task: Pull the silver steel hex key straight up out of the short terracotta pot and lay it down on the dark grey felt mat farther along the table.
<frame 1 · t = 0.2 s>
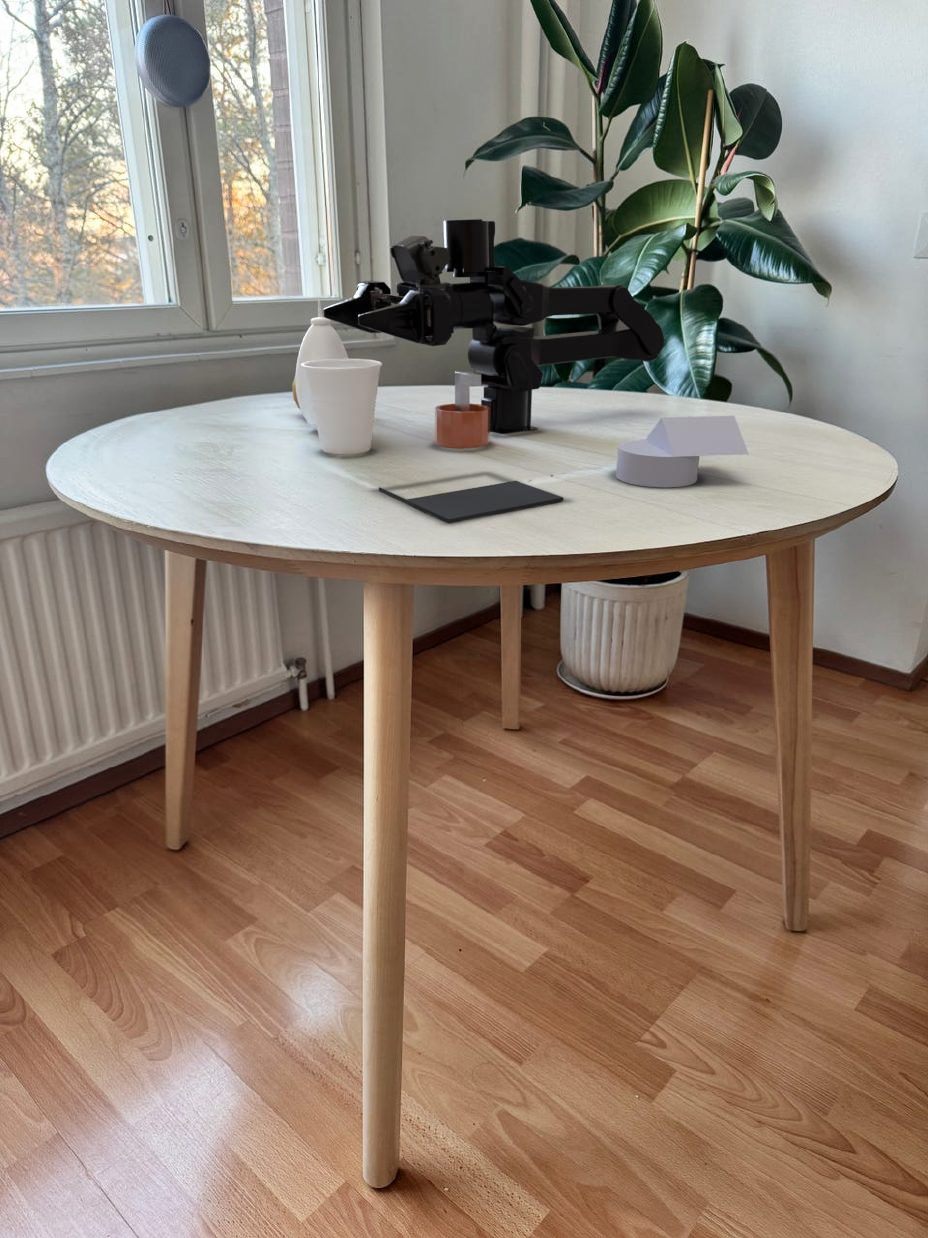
hand: (340, 316, 100), 16 cm above the table, tool horizontal, fingers open, 9 cm apart
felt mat: (469, 495, 87), on the table
hex key: (462, 442, 110), resting on pencil pot
pencil pot: (462, 446, 110), on the table
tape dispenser: (672, 478, 95), on the table
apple: (326, 417, 130), on the table
cup: (346, 453, 106), on the table
sauce bottle: (328, 434, 118), on the table
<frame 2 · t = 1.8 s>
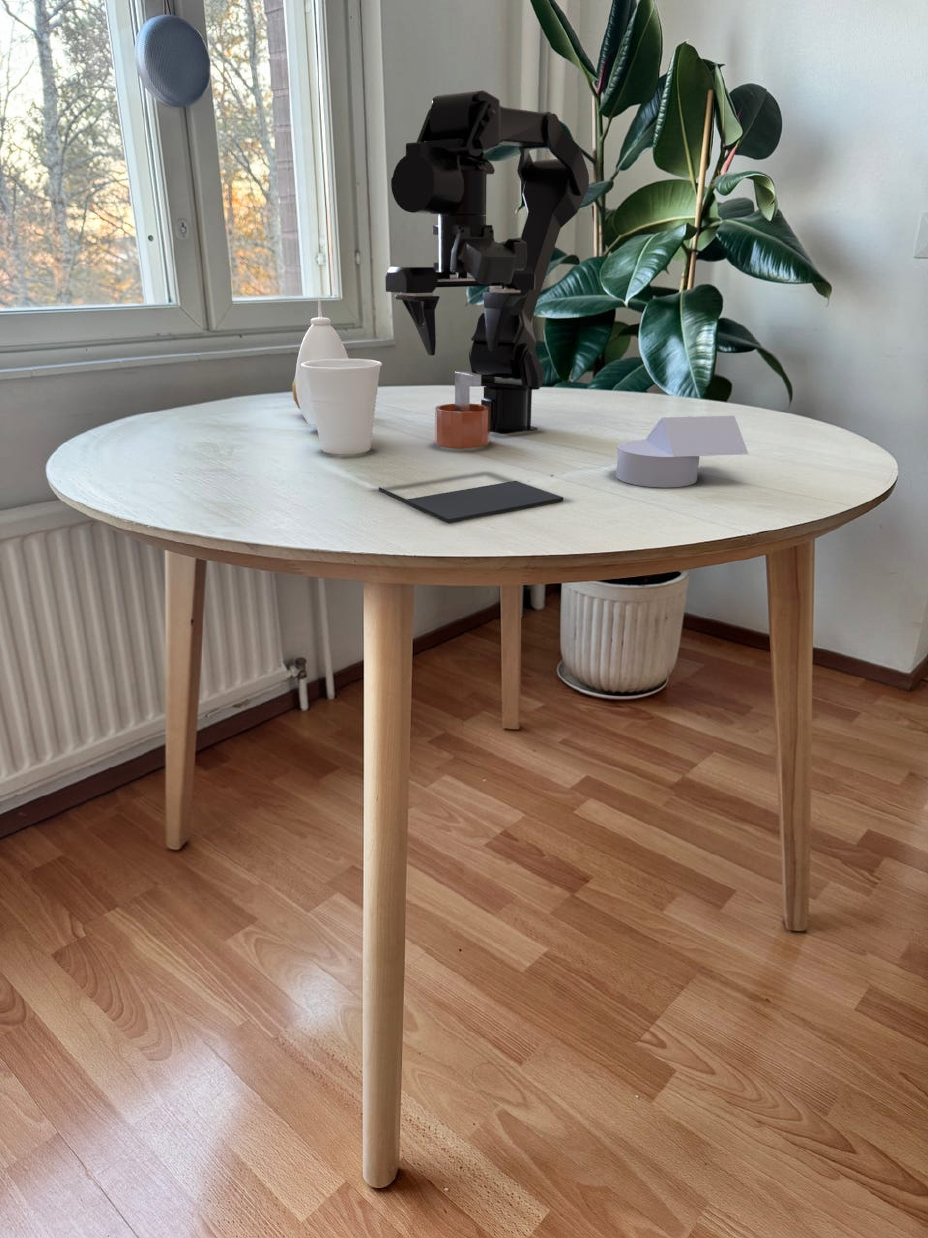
hand: (462, 352, 105), 12 cm above the table, tool pointing down, fingers open, 9 cm apart
nothing on the table moved.
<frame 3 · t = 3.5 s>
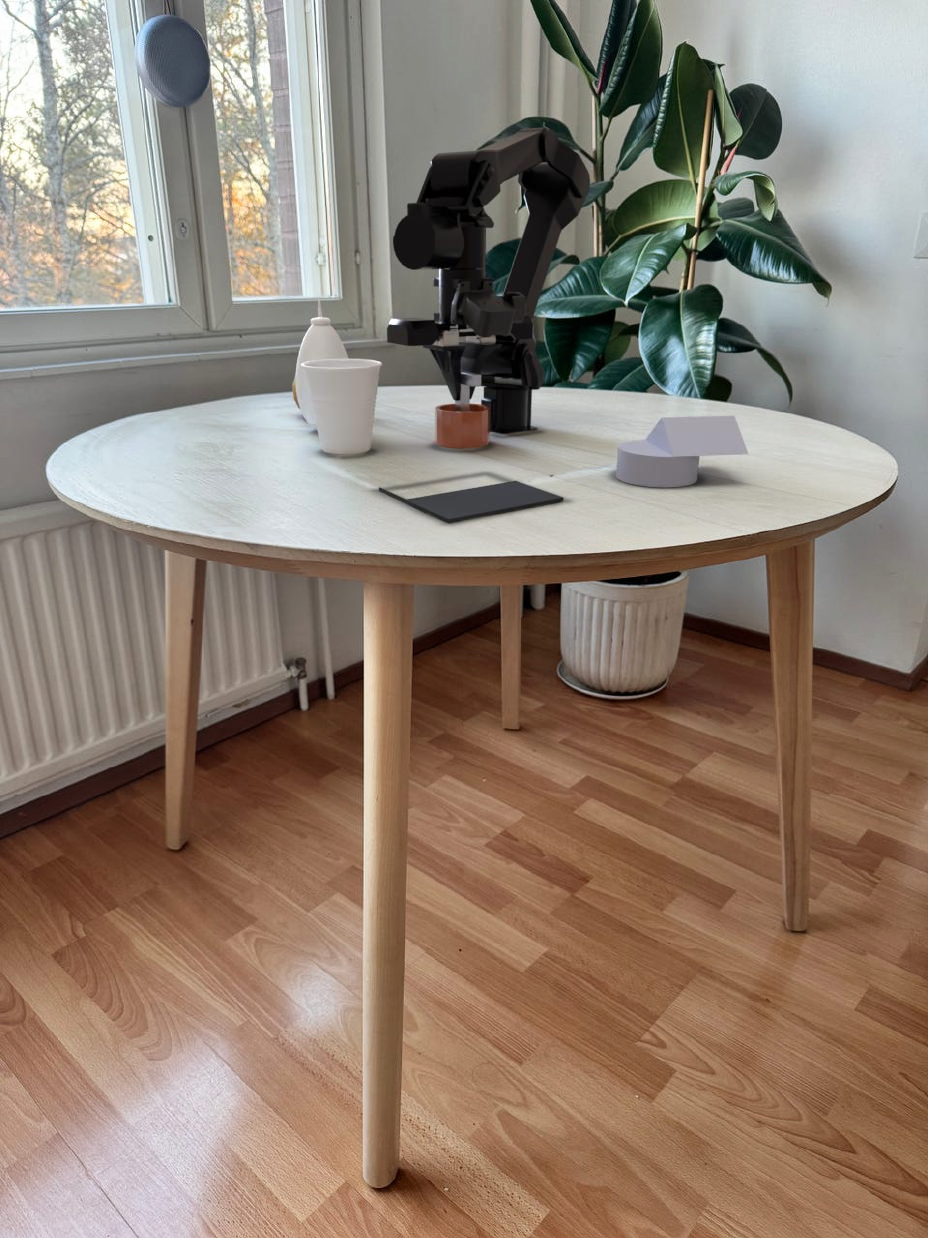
hand: (462, 399, 107), 6 cm above the table, tool pointing down, fingers closed on hex key, 1 cm apart
hex key: (462, 442, 110), point 1 cm above the table, touching gripper, pencil pot
everything else where it was.
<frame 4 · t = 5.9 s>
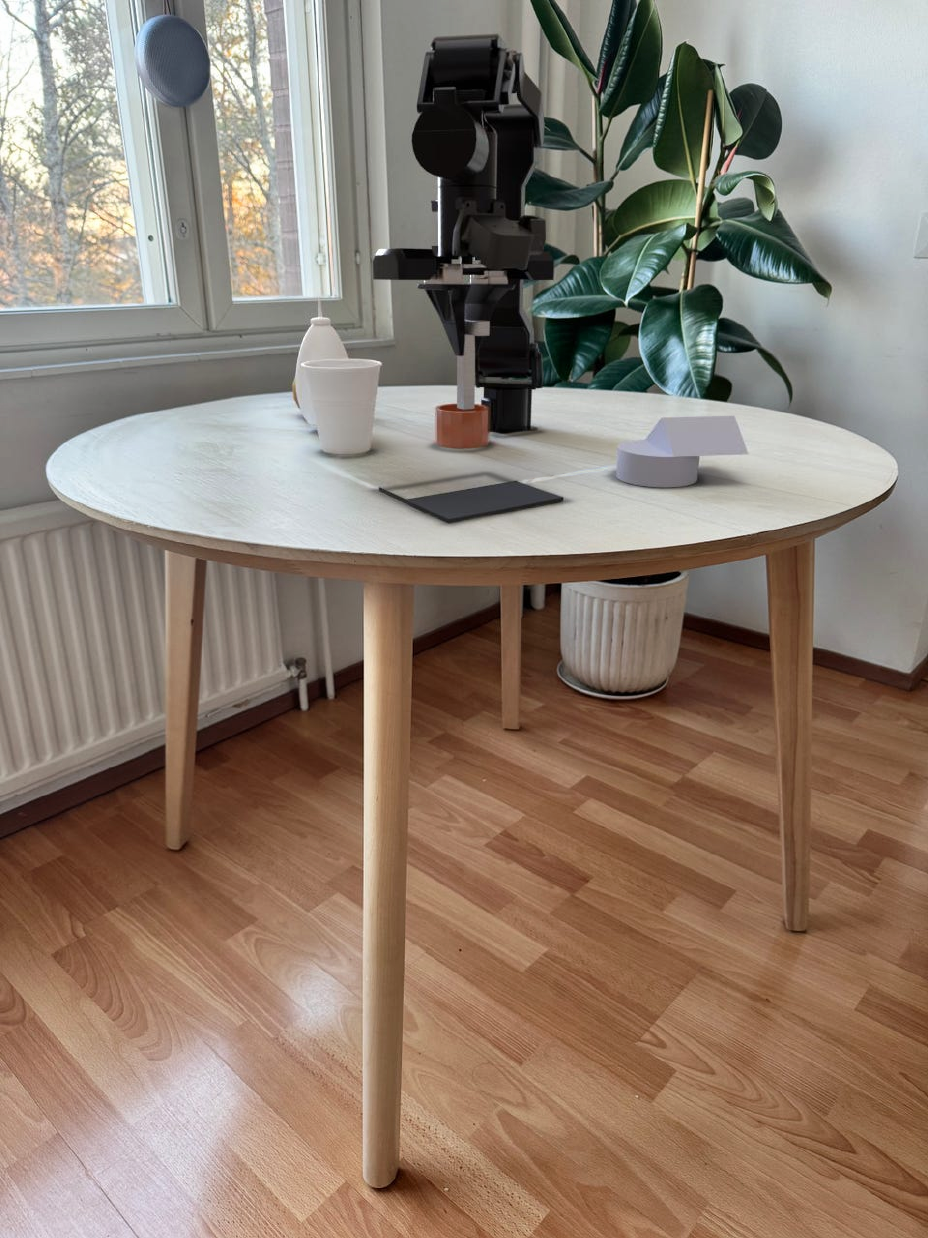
hand: (466, 355, 87), 14 cm above the table, tool pointing down, fingers closed on hex key
hex key: (465, 408, 89), point 8 cm above the table, touching gripper
everything else where it was.
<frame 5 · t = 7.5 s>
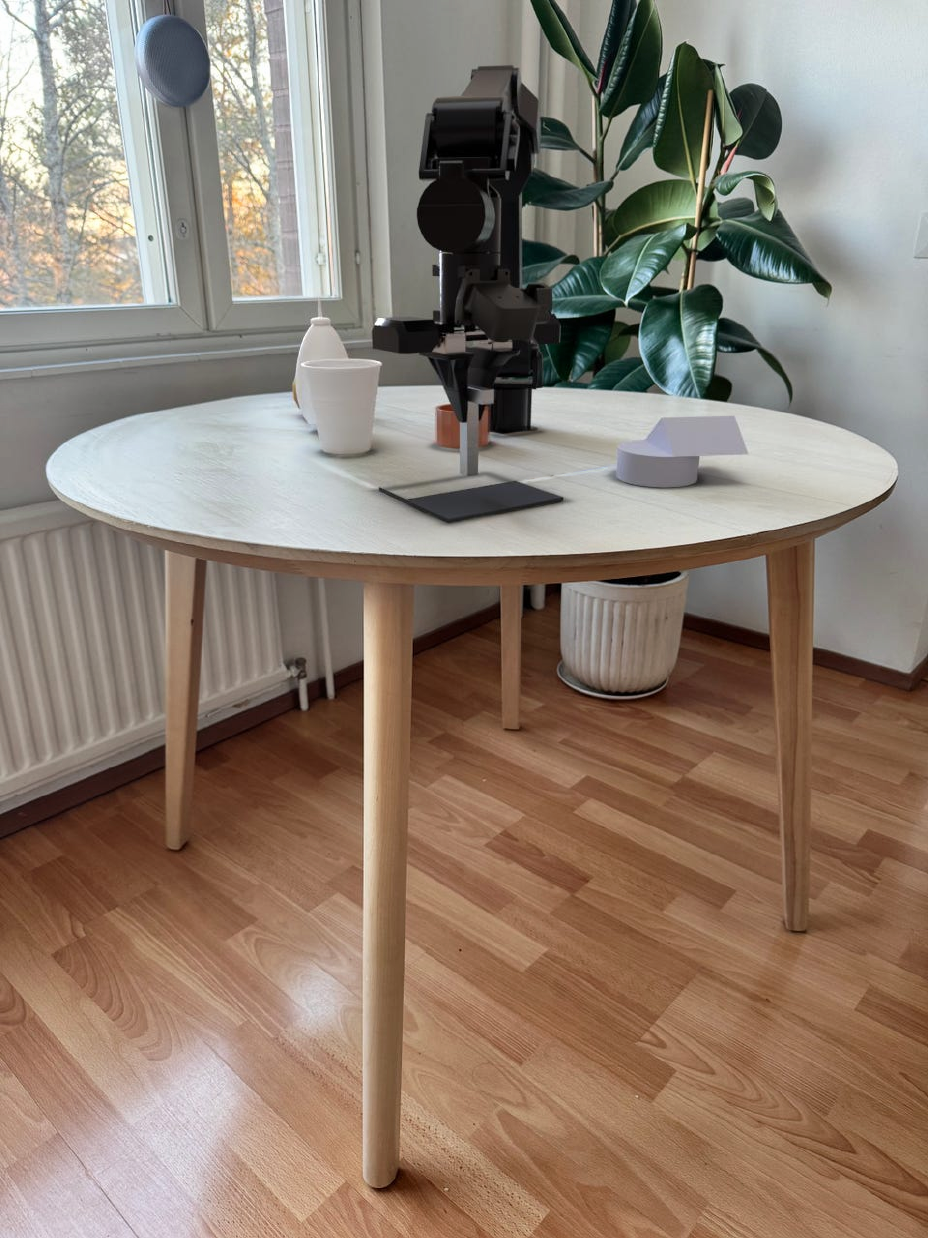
hand: (469, 421, 84), 8 cm above the table, tool pointing down, fingers closed on hex key, 1 cm apart
hex key: (469, 474, 86), point 2 cm above the table, touching gripper
everything else where it was.
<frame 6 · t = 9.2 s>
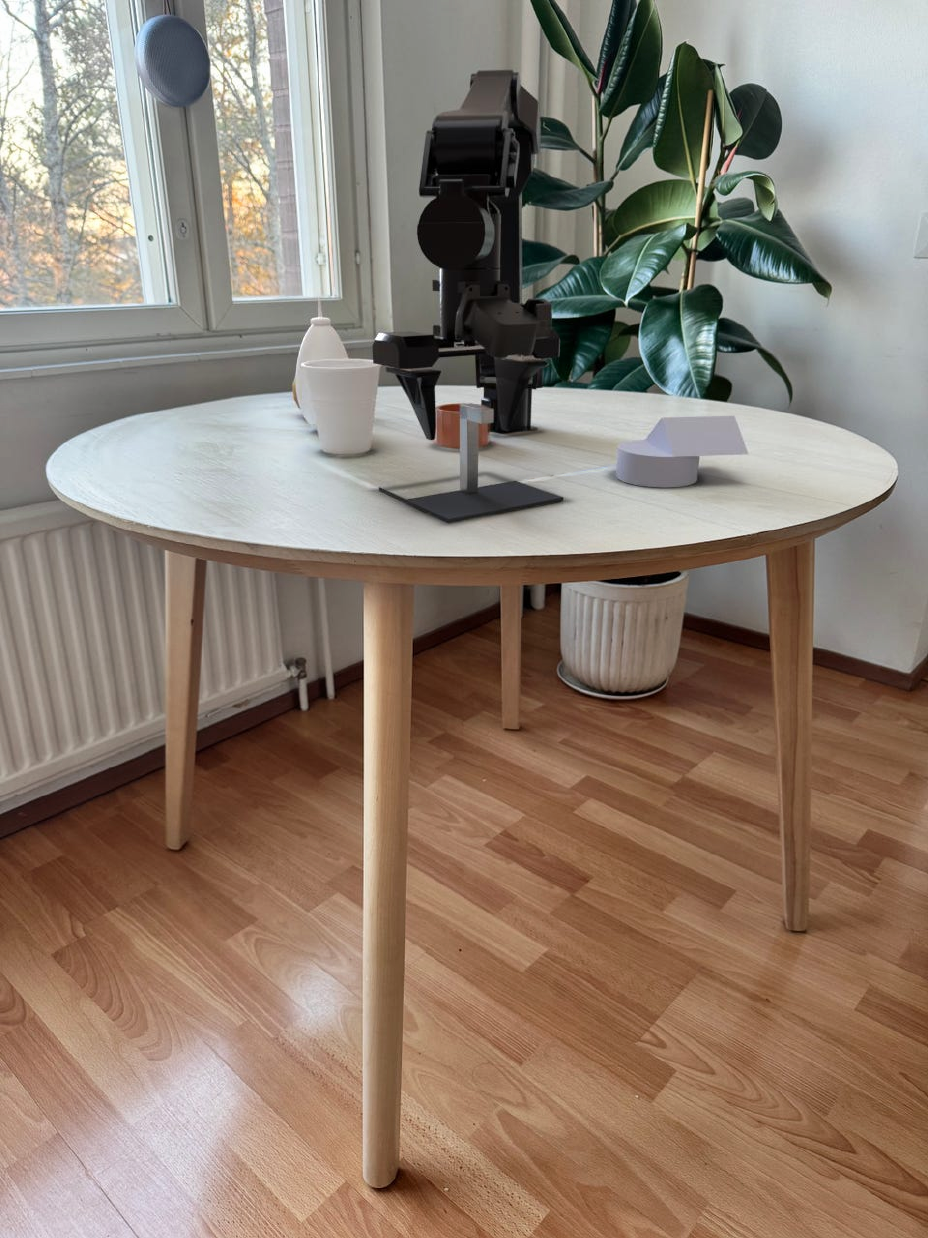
hand: (469, 434, 85), 6 cm above the table, tool pointing down, fingers open, 9 cm apart
hex key: (468, 491, 87), resting on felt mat
everything else where it was.
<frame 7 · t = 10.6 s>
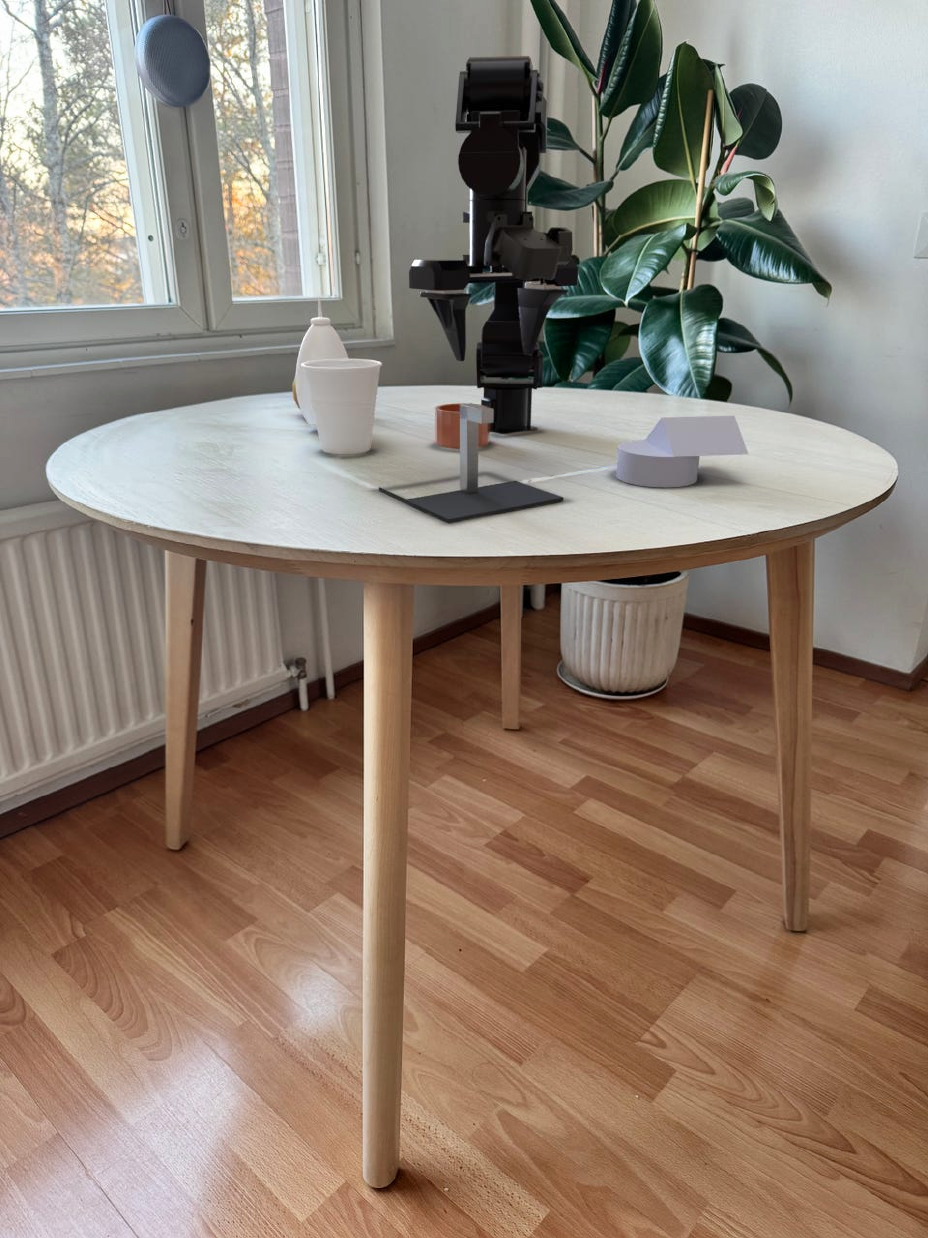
hand: (495, 357, 92), 13 cm above the table, tool pointing down, fingers open, 9 cm apart
nothing on the table moved.
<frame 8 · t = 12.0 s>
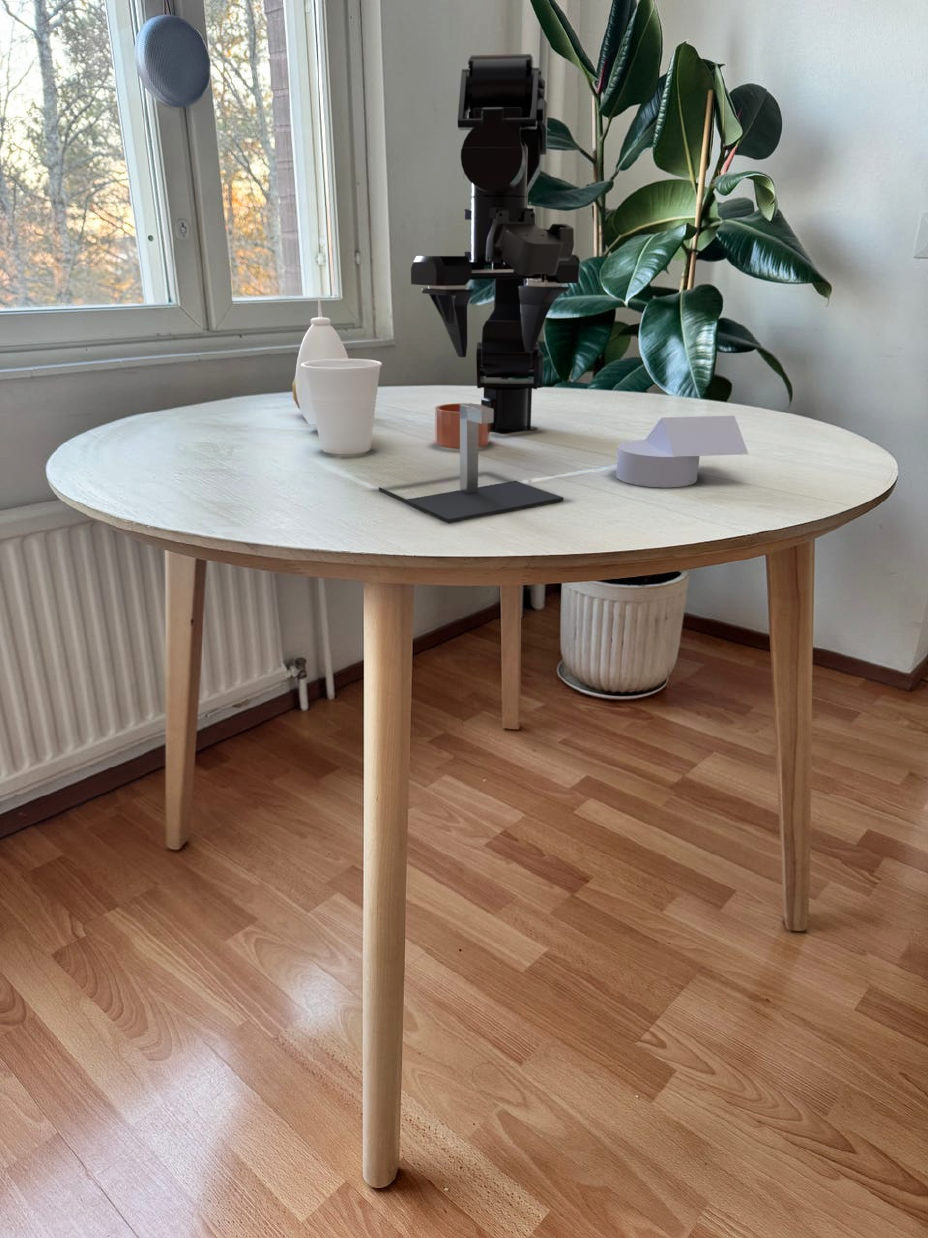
hand: (496, 354, 93), 13 cm above the table, tool pointing down, fingers open, 9 cm apart
nothing on the table moved.
at the end: hex key inside the target area on the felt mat (0.1 cm from its centre), point 0.4 cm above the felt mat's base; hex key touching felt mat; the gripper is holding nothing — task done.
